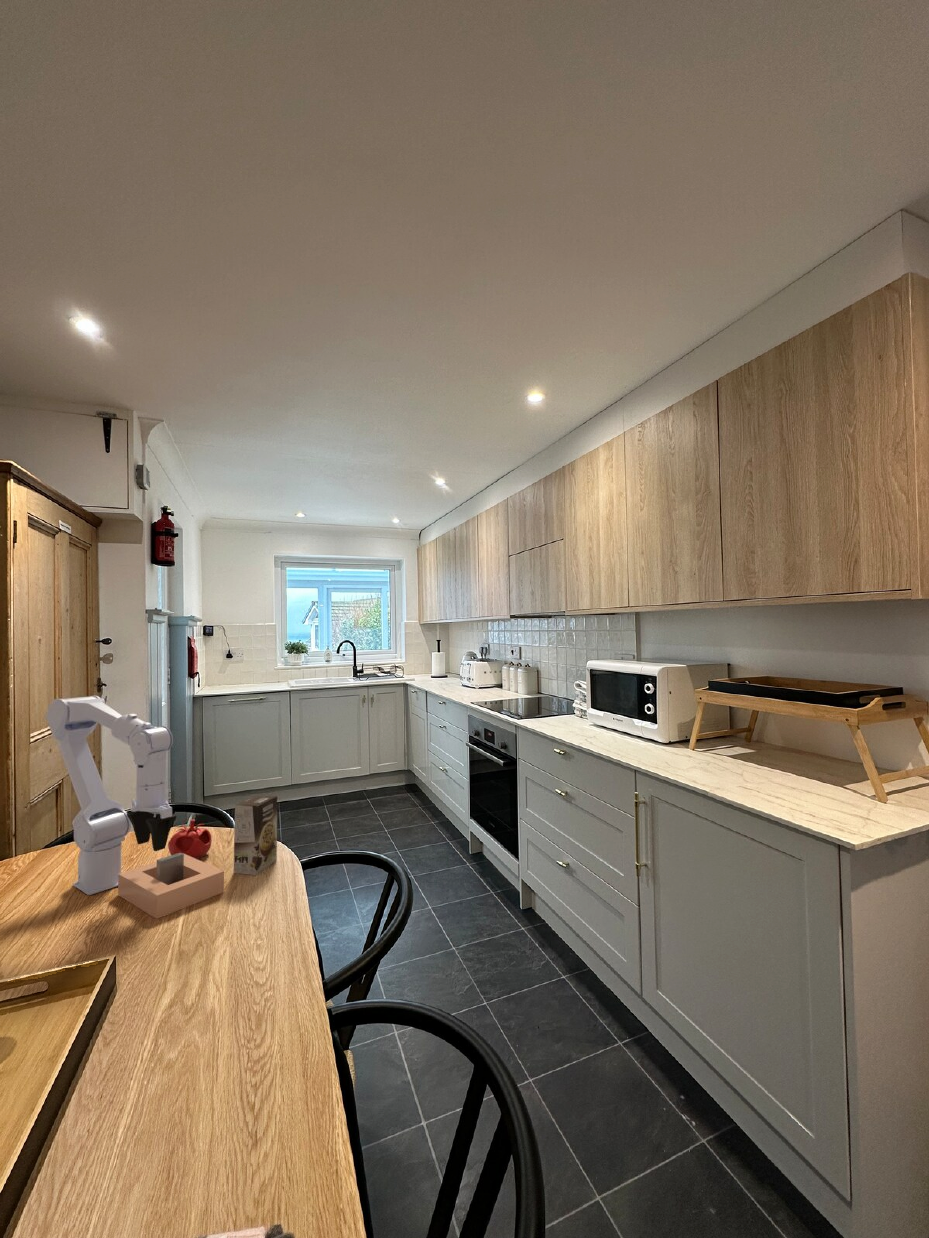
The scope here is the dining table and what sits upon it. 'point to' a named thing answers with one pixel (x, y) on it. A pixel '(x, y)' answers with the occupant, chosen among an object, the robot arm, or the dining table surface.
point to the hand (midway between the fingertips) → (151, 846)
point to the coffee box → (255, 834)
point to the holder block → (170, 887)
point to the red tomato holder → (190, 841)
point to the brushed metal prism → (170, 869)
